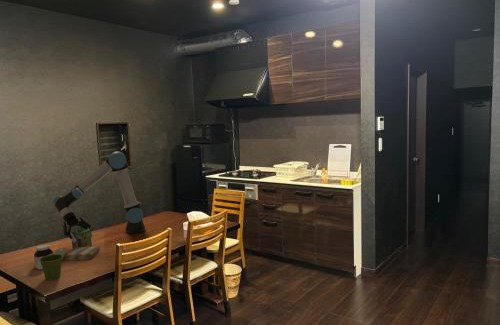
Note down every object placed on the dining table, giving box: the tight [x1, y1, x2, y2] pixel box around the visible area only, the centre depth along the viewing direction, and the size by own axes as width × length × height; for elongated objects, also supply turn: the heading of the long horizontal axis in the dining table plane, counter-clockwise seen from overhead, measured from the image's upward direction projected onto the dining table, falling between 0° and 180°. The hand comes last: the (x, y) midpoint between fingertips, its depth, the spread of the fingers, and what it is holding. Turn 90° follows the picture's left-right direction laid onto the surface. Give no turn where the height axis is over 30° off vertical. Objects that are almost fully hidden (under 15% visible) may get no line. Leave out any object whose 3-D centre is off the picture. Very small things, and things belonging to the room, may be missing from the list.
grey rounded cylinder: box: [54, 247, 67, 261], centre depth 238 cm, size 6×6×6 cm
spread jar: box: [33, 244, 54, 270], centre depth 225 cm, size 12×11×12 cm
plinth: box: [64, 245, 100, 261], centre depth 243 cm, size 16×16×3 cm
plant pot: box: [39, 253, 63, 281], centre depth 207 cm, size 12×12×11 cm
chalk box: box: [71, 226, 93, 249], centre depth 258 cm, size 9×9×15 cm
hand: (83, 239), depth 256 cm, fingers open, 12 cm apart
